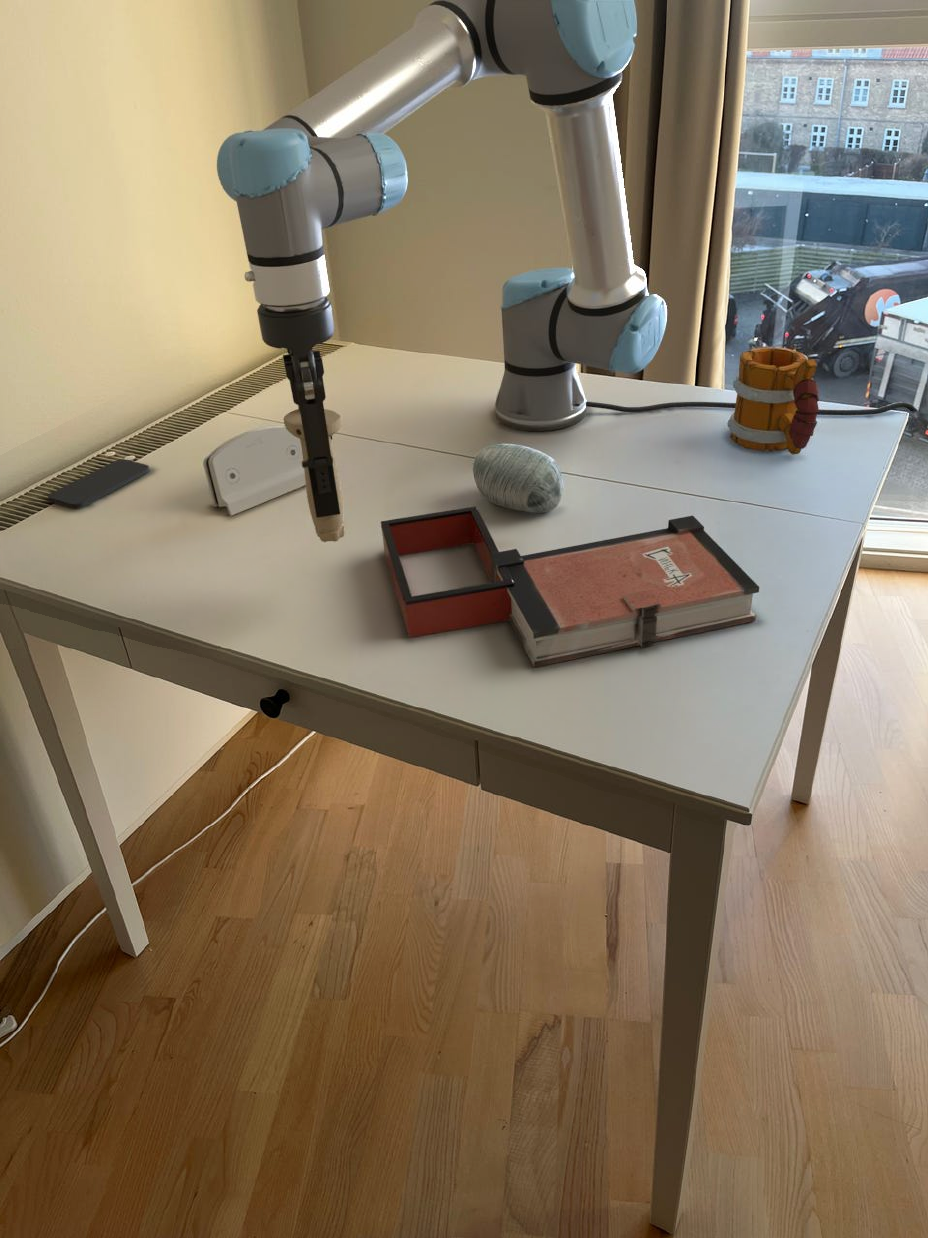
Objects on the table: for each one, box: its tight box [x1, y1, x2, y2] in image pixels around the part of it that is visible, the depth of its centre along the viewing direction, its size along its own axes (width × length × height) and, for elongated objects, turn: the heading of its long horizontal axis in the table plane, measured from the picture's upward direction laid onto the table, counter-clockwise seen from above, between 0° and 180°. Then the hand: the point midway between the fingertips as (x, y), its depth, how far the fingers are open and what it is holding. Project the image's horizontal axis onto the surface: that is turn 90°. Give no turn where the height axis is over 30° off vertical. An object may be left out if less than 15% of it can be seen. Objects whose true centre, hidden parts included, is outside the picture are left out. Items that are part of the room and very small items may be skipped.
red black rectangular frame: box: [380, 505, 514, 638], centre depth 117 cm, size 13×20×5 cm, turn 12°
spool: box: [472, 443, 564, 514], centre depth 133 cm, size 14×10×10 cm
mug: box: [726, 346, 820, 455], centre depth 142 cm, size 11×16×15 cm, turn 18°
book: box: [490, 515, 760, 668], centre depth 111 cm, size 26×18×5 cm
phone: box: [47, 458, 151, 509], centre depth 149 cm, size 7×1×15 cm
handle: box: [283, 408, 346, 543], centre depth 109 cm, size 5×6×15 cm
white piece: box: [202, 425, 306, 516], centre depth 142 cm, size 17×5×10 cm, turn 132°
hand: (326, 504), depth 110 cm, fingers closed on handle, 4 cm apart
